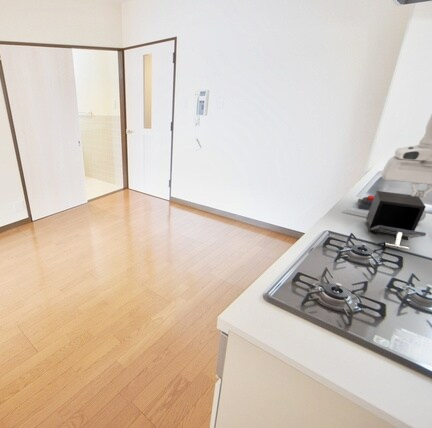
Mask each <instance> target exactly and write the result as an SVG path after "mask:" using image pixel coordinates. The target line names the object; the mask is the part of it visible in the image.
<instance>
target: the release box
mask: <svg viewBox="0 0 432 428" xmlns="http://www.w3.org/2000/svg"><path fill="white" fill-rule="evenodd" d="M367 198H368V196H364V197H362V198H358V199H357V202H356V204H357V208H358V209H359V210H364V211H369V210H370V207H371V204H372V202H373V201H370V200H367Z"/></svg>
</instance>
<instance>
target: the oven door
mask: <svg viewBox="0 0 432 428" xmlns="http://www.w3.org/2000/svg"><path fill="white" fill-rule="evenodd" d="M371 231H377V233H383V234H389V235H394V236H395V237H394V241H393V242H388V241H384V243H385V244H386V246H385V247H390V248H394V249H398V250H404V251H409V249H410V246H409V245H404V244H401V240H402V239H401V237H402V236H405V237H409V238H410V239H412V238H420V237H426V235H427V233H426V232H422V231H416V230H415V231H411V230H405V229H400V228H394V227H388V226H382V225H378V226H375V227H372V228H371Z"/></svg>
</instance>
